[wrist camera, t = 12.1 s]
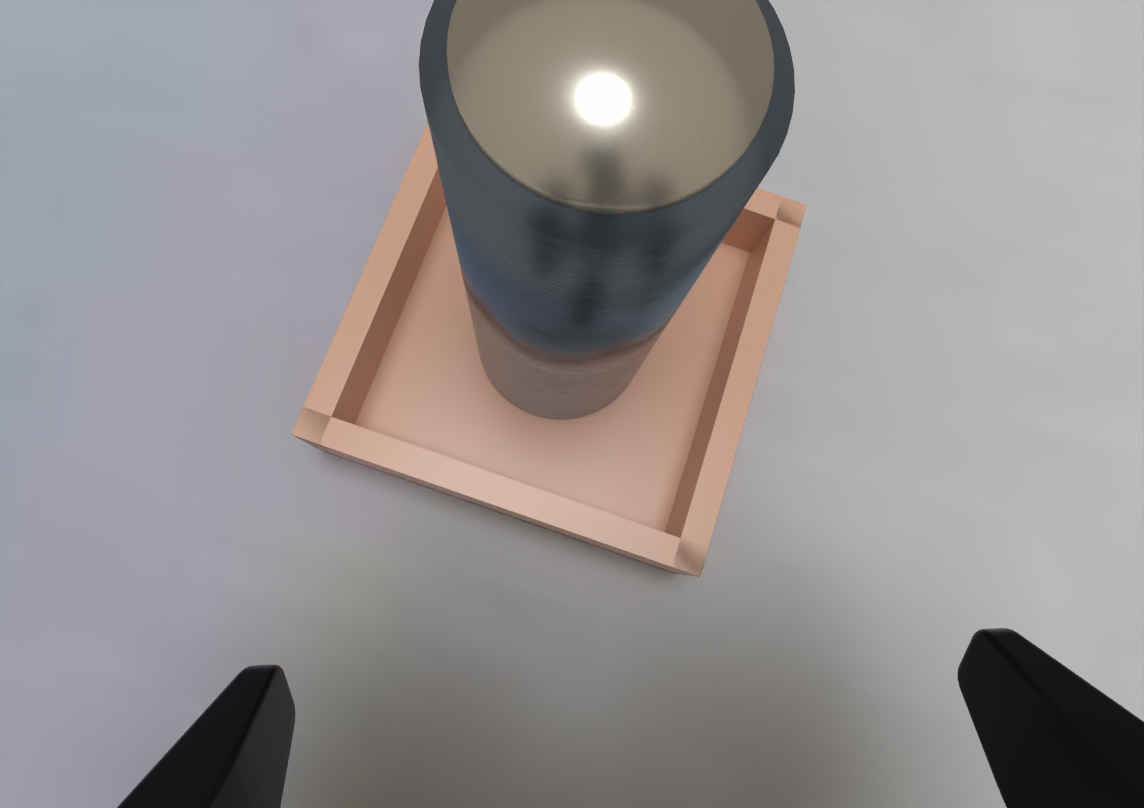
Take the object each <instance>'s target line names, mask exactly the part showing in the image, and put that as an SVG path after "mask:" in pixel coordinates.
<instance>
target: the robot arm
mask: <svg viewBox="0 0 1144 808" xmlns="http://www.w3.org/2000/svg"><path fill="white" fill-rule="evenodd" d="M958 682H959V686H960V689H961V692H962V695H963V697H964V700H965V702H966V705H967V708H968V710H969V713H970V715H971V718H972V721H973V723H974V726H975V729H976V731H977V734H978V736H979V739H980V742H981V744H982V747H983V749H984V752H985V755H986V757H987V760H988V762H989V765H990V768H991V770H992V773H993V775H994V778H995V781H996V783H997V786H998V788H999V790H1000V793H1001V795H1002V798H1003V800H1004V802H1005V805H1006V807H1007V808H1144V722H1143V721H1142V720H1141V719H1139V718H1138V717H1136V716H1135V715H1133V714H1132V713H1131V712H1129V711H1128V710H1126V709H1125V708H1124V707H1122V706H1121V705H1119V704H1118V703H1116V702H1115V701H1114V700H1112V699H1111V698H1109V697H1108V696H1106V695H1105V694H1104V693H1102V692H1101V691H1099V690H1098V689H1097V688H1095V687H1094V686H1092V685H1091V684H1089V683H1088V682H1087V681H1085V680H1084V679H1082V678H1081V677H1079V676H1078V675H1077V674H1075V673H1074V672H1072V671H1071V670H1070V669H1068V668H1067V667H1065V666H1064V665H1062V664H1061V663H1060V662H1058V661H1057V660H1055V659H1054V658H1052V657H1051V656H1050V655H1048V654H1047V653H1045V652H1044V651H1043V650H1041V649H1040V648H1038V647H1037V646H1035V645H1034V644H1033V643H1031V642H1030V641H1028V640H1027V639H1025V638H1024V637H1023V636H1021V635H1020V634H1018V633H1017V632H1015V631H1013V630H1010V629H1006V628H997V629H981V630H979V631H977V632H976V633H975V634H974V635H973V637H972V639H971V641H970V644H969V646H968V648H967V650H966V652H965V654H964V657H963V659H962V661H961V663H960V665H959V668H958ZM294 724H295V705H294V701H293V698H292V695H291V692H290V689H289V686H288V683H287V680H286V677H285V674H284V671H283V669H282V668H281V667H280V666H278V665H258V666H249V667H247V668H245V669H244V670H242V671H241V672H240V673H239V674H238V675H237V676H236V677H235V678H234V680H233V681H232V682H231V683H230V684H229V685H228V686H227V687H226V688H225V689H224V691H223V692H222V693H221V694H220V695H219V696H218V697H217V698H216V699H215V700H214V702H213V703H212V704H211V705H210V706H209V707H208V708H207V709H206V710H205V711H204V713H203V714H202V715H201V716H200V717H199V718H198V719H197V720H196V721H195V722H194V724H193V725H192V726H191V727H190V728H189V729H188V730H187V731H186V732H185V733H184V735H183V736H182V737H181V738H180V739H179V740H178V741H177V742H176V743H175V744H174V746H173V747H172V748H171V749H170V750H169V751H168V752H167V753H166V754H165V755H164V757H163V758H162V759H161V760H160V761H159V762H158V763H157V764H156V765H155V766H154V768H153V769H152V770H151V771H150V772H149V773H148V774H147V775H146V776H145V777H144V779H143V780H142V781H141V782H140V783H139V784H138V785H137V786H136V787H135V788H134V790H133V791H132V792H131V793H130V794H129V795H128V796H127V797H126V798H125V799H124V801H123V802H122V803H121V804H120V805H119V806H118V807H117V808H280V805H281V800H282V794H283V788H284V782H285V776H286V771H287V765H288V759H289V753H290V747H291V741H292V736H293V730H294Z"/></svg>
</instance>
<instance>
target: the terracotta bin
mask: <svg viewBox="0 0 1144 808" xmlns="http://www.w3.org/2000/svg"><path fill="white" fill-rule="evenodd" d="M806 206H807V205H805V204H802V203H799V202H796V201H793V200H790V199H788V198H785V197H782V196H779V195H776V194H773V193H770V192H768V191H765V190H762V189H759V188H757V189H756V190H755V192H754V193H753V195H752V196H751V198H750V199H749V201H748V202H747V204H746V206H745V207H744V209H743V210H742V212H741V213H740V215H739V216H738V218H737V219H736V221H735V222H734V224H733V225H732V227H731V228H730V230H729V232H728V233H727V235H726V236H725V238H724V239H723V241H722V242H721V244H720V245H719V247H718V248H717V250H716V251H715V253H714V254H713V256H712V258H711V259H710V261H709V262H708V264H707V265H706V267H705V268H704V270H703V271H702V273H701V274H700V276H699V277H698V279H697V280H696V282H695V284H694V285H693V287H692V288H691V290H690V291H689V293H688V294H687V296H686V297H685V299H684V300H683V302H682V303H681V305H680V306H679V308H678V310H677V311H676V313H675V314H674V316H673V317H672V319H671V320H670V322H669V323H668V325H667V326H666V328H665V329H664V331H663V332H662V334H661V336H660V337H659V339H658V340H657V342H656V343H655V345H654V346H653V348H652V349H651V351H650V352H649V354H648V355H647V357H646V358H645V360H644V362H643V363H642V365H641V366H640V368H639V369H638V371H637V372H636V374H635V375H634V377H633V378H632V380H631V381H630V383H629V384H628V386H627V387H626V389H625V390H624V391H623V392H622V393H621V395H620V396H619V397H617V398H616V399H615V400H614V401H613V402H612V403H610V404H609V405H608V406H606V407H605V408H603V409H601V410H599V411H597V412H595V413H593V414H590V415H588V416H585V417H581V418H576V419H568V420H552V419H546V418H541V417H538V416H534V415H531V414H529V413H527V412H524V411H522V410H520V409H519V408H517V407H515V406H514V405H512V404H511V403H510V402H508V401H507V400H506V399H505V398H504V397H503V396H502V395H501V394H500V393H499V392H498V391H497V390H496V389H495V387H494V386H493V385H492V383H491V382H490V380H489V378H488V376H487V374H486V373H485V370H484V368H483V365H482V362H481V358H480V354H479V349H478V345H477V340H476V336H475V331H474V327H473V322H472V318H471V313H470V309H469V304H468V300H467V295H466V291H465V286H464V282H463V277H462V272H461V268H460V263H459V259H458V254H457V250H456V245H455V241H454V236H453V232H452V227H451V223H450V218H449V214H448V209H447V205H446V200H445V196H444V191H443V187H442V182H441V178H440V173H439V169H438V164H437V160H436V155H435V151H434V146H433V142H432V137H431V133H430V128H429V124H428V123H427V126H426V128H425V130H424V133H423V135H422V137H421V139H420V142H419V144H418V146H417V149H416V151H415V153H414V155H413V158H412V160H411V162H410V164H409V167H408V169H407V171H406V174H405V176H404V178H403V180H402V183H401V185H400V187H399V190H398V192H397V194H396V196H395V199H394V201H393V203H392V206H391V208H390V210H389V212H388V215H387V217H386V219H385V221H384V224H383V226H382V228H381V231H380V233H379V235H378V237H377V240H376V242H375V244H374V247H373V249H372V251H371V253H370V256H369V258H368V260H367V263H366V265H365V267H364V269H363V272H362V274H361V276H360V279H359V281H358V283H357V285H356V288H355V290H354V292H353V294H352V297H351V299H350V301H349V304H348V306H347V308H346V310H345V313H344V315H343V317H342V320H341V322H340V324H339V326H338V329H337V331H336V333H335V336H334V338H333V340H332V342H331V345H330V347H329V349H328V351H327V354H326V356H325V358H324V361H323V363H322V365H321V367H320V370H319V372H318V374H317V377H316V379H315V381H314V383H313V386H312V388H311V390H310V393H309V395H308V397H307V399H306V402H305V404H304V406H303V408H302V411H301V413H300V415H299V418H298V420H297V422H296V424H295V427H294V429H293V431H292V434H291V435H293V436H295V437H297V438H299V439H301V440H303V441H304V442H306V443H308V444H310V445H312V446H314V447H316V448H318V449H320V450H322V451H325V452H327V453H330V454H333V455H336V456H339V457H342V458H345V459H348V460H350V461H353V462H356V463H359V464H362V465H365V466H368V467H371V468H373V469H376V470H379V471H382V472H385V473H388V474H391V475H394V476H396V477H399V478H402V479H405V480H408V481H411V482H414V483H417V484H420V485H422V486H425V487H428V488H431V489H434V490H437V491H440V492H443V493H445V494H448V495H451V496H454V497H457V498H460V499H463V500H466V501H468V502H471V503H474V504H477V505H480V506H483V507H486V508H489V509H491V510H494V511H497V512H500V513H503V514H506V515H509V516H512V517H515V518H517V519H520V520H523V521H526V522H529V523H532V524H535V525H538V526H540V527H543V528H546V529H549V530H552V531H555V532H558V533H561V534H563V535H566V536H569V537H572V538H575V539H578V540H581V541H584V542H586V543H589V544H592V545H595V546H598V547H601V548H604V549H607V550H610V551H612V552H615V553H618V554H621V555H624V556H627V557H630V558H633V559H635V560H638V561H641V562H644V563H647V564H650V565H653V566H656V567H658V568H661V569H664V570H667V571H670V572H673V573H676V574H684V575H691V576H699V577H700V576H701V572H702V569H703V565H704V562H705V558H706V555H707V551H708V548H709V544H710V541H711V537H712V534H713V530H714V527H715V524H716V520H717V517H718V513H719V510H720V506H721V503H722V499H723V496H724V492H725V489H726V485H727V482H728V478H729V475H730V471H731V468H732V464H733V461H734V457H735V454H736V450H737V447H738V443H739V440H740V436H741V433H742V429H743V426H744V422H745V419H746V415H747V412H748V408H749V405H750V401H751V398H752V394H753V391H754V387H755V384H756V380H757V377H758V373H759V370H760V366H761V363H762V359H763V356H764V352H765V349H766V345H767V342H768V338H769V335H770V332H771V328H772V325H773V321H774V318H775V314H776V311H777V307H778V304H779V300H780V297H781V293H782V290H783V286H784V283H785V279H786V276H787V272H788V269H789V265H790V262H791V258H792V255H793V251H794V248H795V244H796V241H797V237H798V234H799V230H800V227H801V223H802V220H803V216H804V213H805V209H806Z"/></svg>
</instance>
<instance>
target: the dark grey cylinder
mask: <svg viewBox="0 0 1144 808" xmlns="http://www.w3.org/2000/svg"><path fill="white" fill-rule="evenodd" d="M419 73H420V87H421V92H422V96H423V101H424V106H425V110H426V115H427V119H428V124H429V128H430V133H431V137H432V142H433V146H434V151H435V155H436V160H437V164H438V169H439V173H440V178H441V182H442V187H443V191H444V196H445V200H446V205H447V209H448V214H449V218H450V223H451V227H452V232H453V236H454V241H455V245H456V250H457V254H458V259H459V263H460V268H461V272H462V277H463V282H464V286H465V291H466V295H467V300H468V304H469V309H470V313H471V318H472V322H473V327H474V331H475V336H476V340H477V345H478V349H479V354H480V358H481V362H482V365H483V368H484V370H485V373H486V374H487V376H488V378H489V380H490V382H491V383H492V385H493V386H494V387H495V389H496V390H497V391H498V392H499V393H500V394H501V395H502V396H503V397H504V398H505V399H506V400H507V401H508V402H510V403H511V404H512V405H514V406H515V407H517V408H519V409H520V410H522V411H524V412H527V413H529V414H531V415H534V416H538V417H541V418H546V419H552V420H568V419H576V418H581V417H585V416H588V415H590V414H593V413H595V412H597V411H599V410H601V409H603V408H605V407H606V406H608V405H609V404H610V403H612V402H613V401H614V400H615V399H616V398H617V397H619V396H620V395H621V393H622V392H623V391H624V390H625V389H626V387H627V386H628V384H629V383H630V381H631V380H632V378H633V377H634V375H635V374H636V372H637V371H638V369H639V368H640V366H641V365H642V363H643V362H644V360H645V358H646V357H647V355H648V354H649V352H650V351H651V349H652V348H653V346H654V345H655V343H656V342H657V340H658V339H659V337H660V336H661V334H662V332H663V331H664V329H665V328H666V326H667V325H668V323H669V322H670V320H671V319H672V317H673V316H674V314H675V313H676V311H677V310H678V308H679V306H680V305H681V303H682V302H683V300H684V299H685V297H686V296H687V294H688V293H689V291H690V290H691V288H692V287H693V285H694V284H695V282H696V280H697V279H698V277H699V276H700V274H701V273H702V271H703V270H704V268H705V267H706V265H707V264H708V262H709V261H710V259H711V258H712V256H713V254H714V253H715V251H716V250H717V248H718V247H719V245H720V244H721V242H722V241H723V239H724V238H725V236H726V235H727V233H728V232H729V230H730V228H731V227H732V225H733V224H734V222H735V221H736V219H737V218H738V216H739V215H740V213H741V212H742V210H743V209H744V207H745V206H746V204H747V202H748V201H749V199H750V198H751V196H752V195H753V193H754V192H755V190H756V189H757V187H758V186H759V184H760V183H761V181H762V180H763V178H764V176H765V175H766V173H767V172H768V170H769V169H770V167H771V165H772V164H773V162H774V160H775V159H776V157H777V156H778V154H779V151H780V149H781V147H782V144H783V142H784V140H785V137H786V135H787V132H788V128H789V124H790V120H791V117H792V112H793V103H794V94H795V86H794V68H793V63H792V57H791V52H790V47H789V44H788V41H787V38H786V35H785V32H784V29H783V27H782V25H781V23H780V20H779V18H778V16H777V14H776V12H775V10H774V8H773V7H772V5H771V4H770V2H769V0H434V2H433V5H432V7H431V10H430V12H429V15H428V17H427V20H426V23H425V27H424V31H423V35H422V40H421V46H420V58H419Z"/></svg>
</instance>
